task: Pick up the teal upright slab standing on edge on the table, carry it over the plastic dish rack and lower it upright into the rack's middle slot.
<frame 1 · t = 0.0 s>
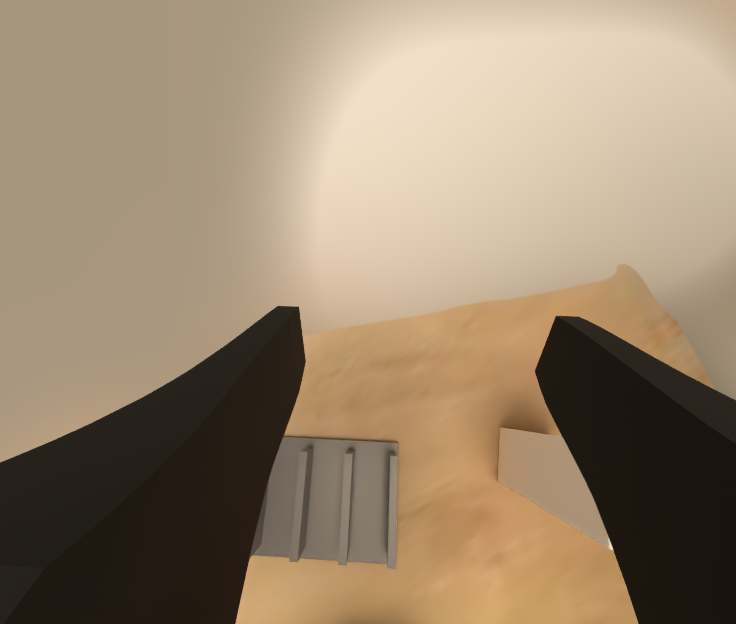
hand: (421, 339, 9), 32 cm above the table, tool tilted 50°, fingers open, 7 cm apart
rack: (328, 495, 37), on the table
milk: (523, 457, 38), on the table
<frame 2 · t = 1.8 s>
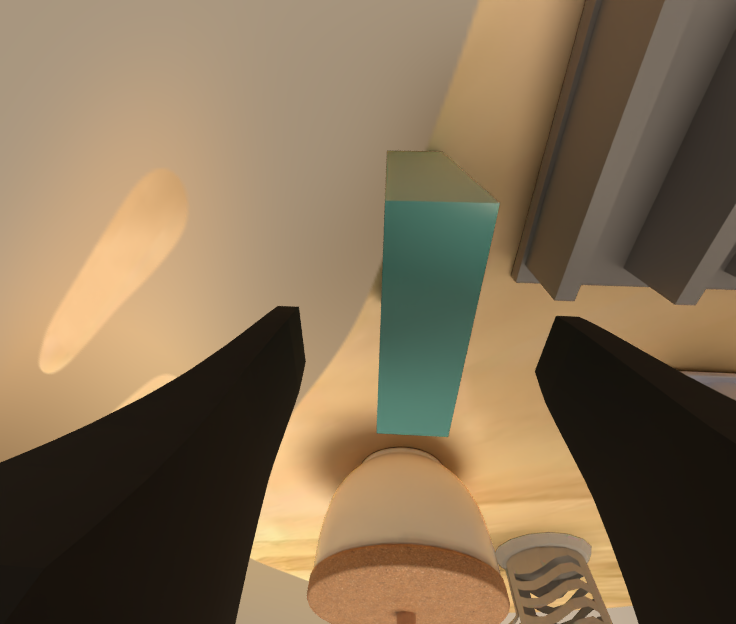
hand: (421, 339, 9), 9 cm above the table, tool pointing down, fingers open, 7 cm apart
rack: (728, 156, 14), on the table
lidded bowl: (401, 470, 28), on the table
french press: (532, 553, 35), on the table
teal upright slab: (408, 236, 17), on the table
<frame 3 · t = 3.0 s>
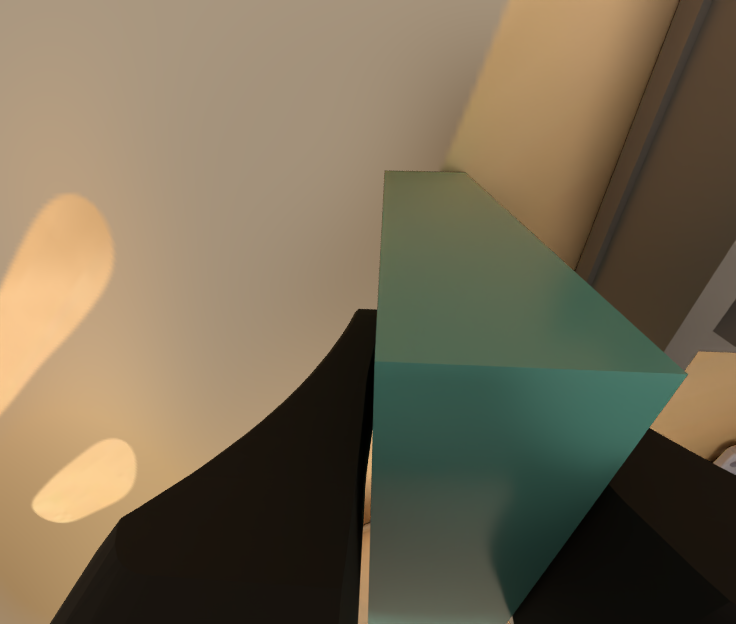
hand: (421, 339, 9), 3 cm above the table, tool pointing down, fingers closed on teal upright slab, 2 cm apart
lidded bowl: (403, 538, 24), on the table
teal upright slab: (413, 284, 12), on the table, touching gripper
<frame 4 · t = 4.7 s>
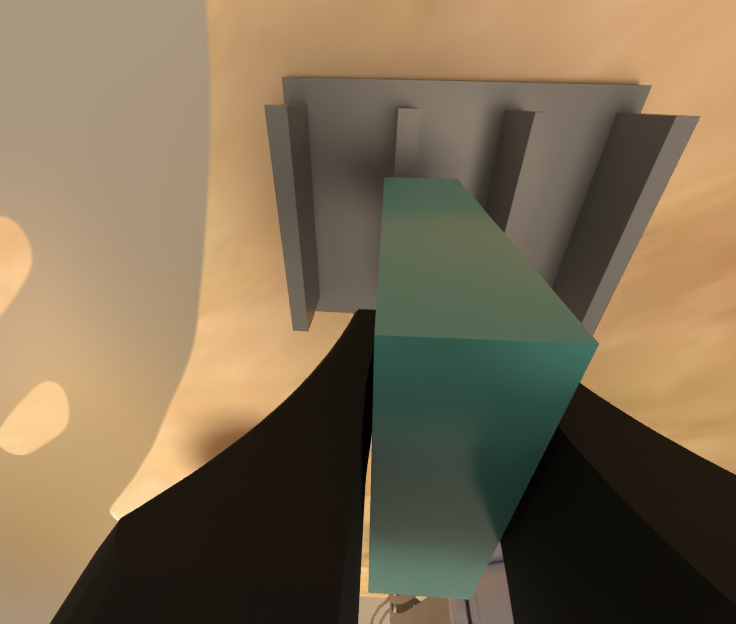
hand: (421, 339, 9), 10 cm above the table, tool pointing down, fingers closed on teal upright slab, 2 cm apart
rack: (441, 216, 18), on the table
french press: (415, 542, 39), on the table
teal upright slab: (411, 281, 13), point 6 cm above the table, touching gripper
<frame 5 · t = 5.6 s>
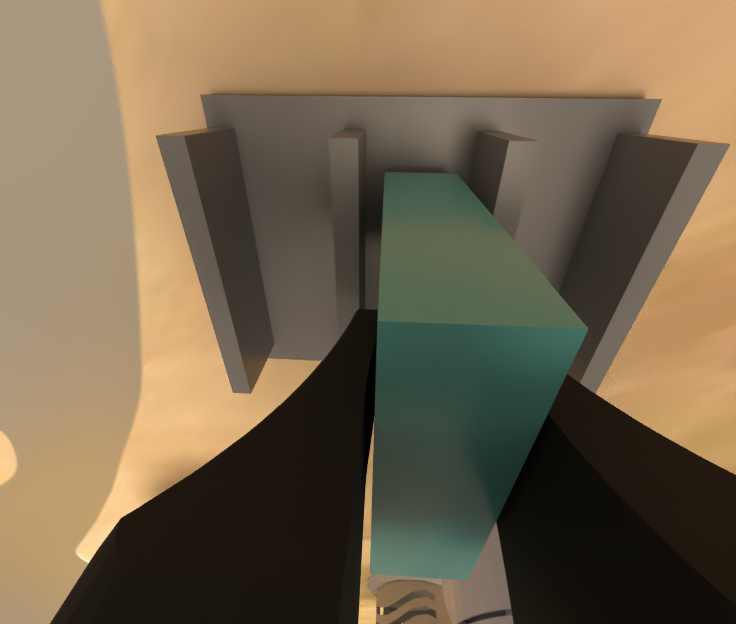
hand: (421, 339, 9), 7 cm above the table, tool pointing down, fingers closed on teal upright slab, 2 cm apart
rack: (409, 253, 15), on the table
french press: (404, 584, 36), on the table
teal upright slab: (411, 275, 14), point 2 cm above the table, touching gripper
when the fingers open (6 cm above the table, at t = 6.4 s): teal upright slab stays where it is, resting on rack.
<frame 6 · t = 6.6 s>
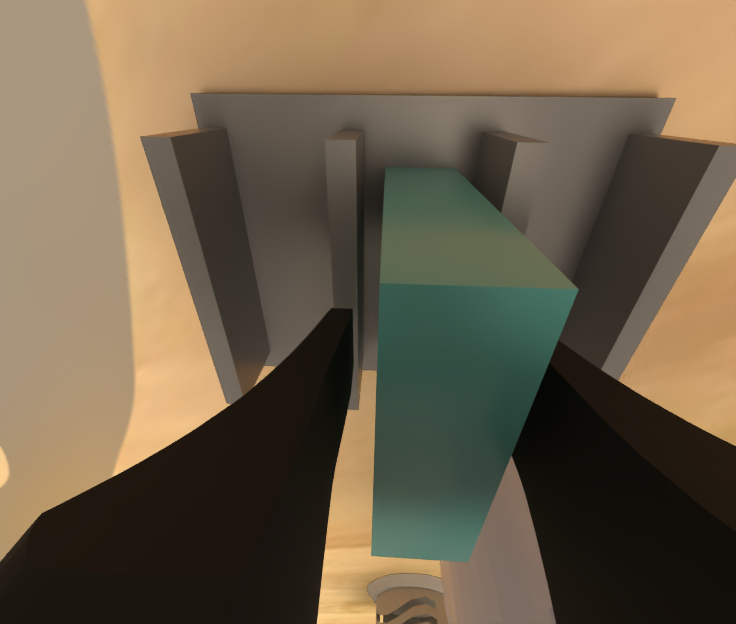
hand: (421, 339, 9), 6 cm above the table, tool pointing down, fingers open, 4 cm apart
rack: (410, 258, 14), on the table
french press: (404, 590, 36), on the table
teal upright slab: (411, 269, 14), point 1 cm above the table, touching rack
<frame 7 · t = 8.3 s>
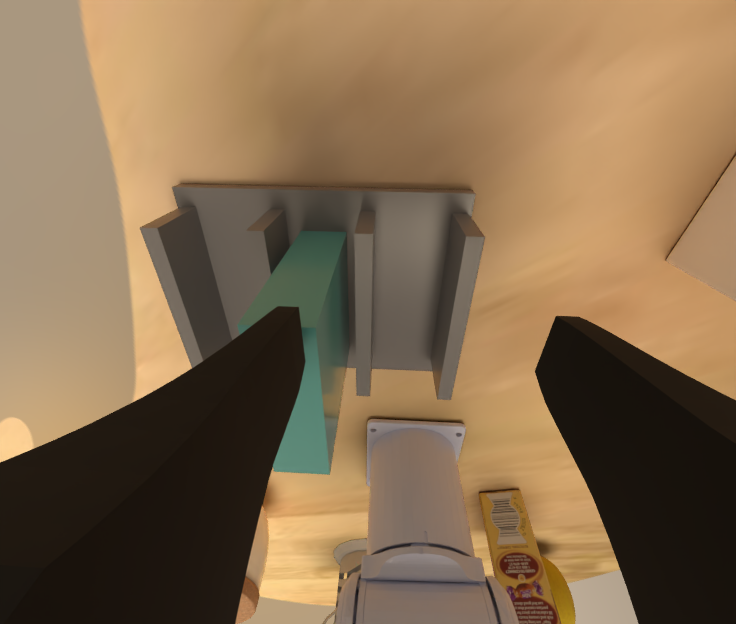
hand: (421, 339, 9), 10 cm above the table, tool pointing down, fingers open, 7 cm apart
rack: (329, 286, 21), on the table
lemon: (527, 548, 38), on the table
lidded bowl: (225, 489, 35), on the table
french press: (365, 556, 42), on the table
teal upright slab: (328, 295, 20), point 1 cm above the table, touching rack
candy box: (500, 510, 34), on the table
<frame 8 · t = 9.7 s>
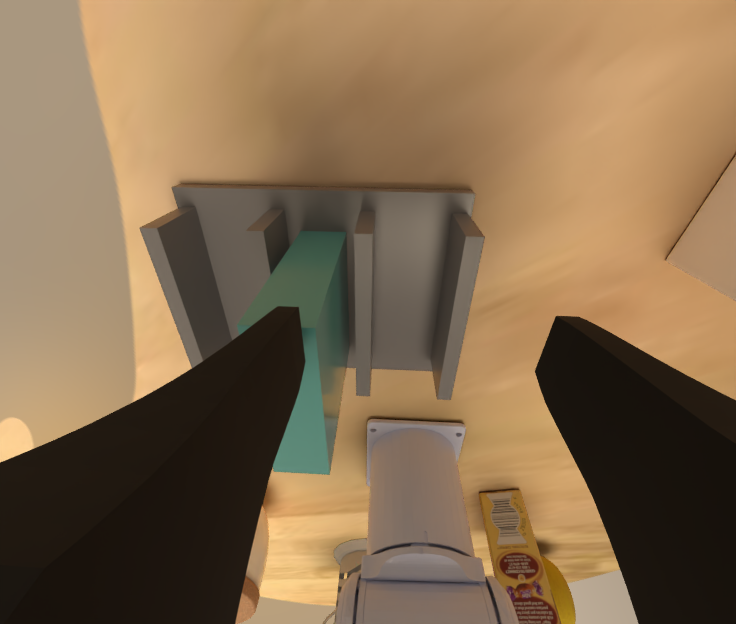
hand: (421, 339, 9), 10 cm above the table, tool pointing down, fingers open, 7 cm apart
rack: (329, 286, 21), on the table
lemon: (528, 548, 38), on the table
lidded bowl: (226, 489, 35), on the table
french press: (365, 556, 42), on the table
teal upright slab: (327, 295, 20), point 1 cm above the table, touching rack
candy box: (500, 510, 34), on the table
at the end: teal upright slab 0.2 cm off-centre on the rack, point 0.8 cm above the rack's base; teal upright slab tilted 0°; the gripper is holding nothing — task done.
